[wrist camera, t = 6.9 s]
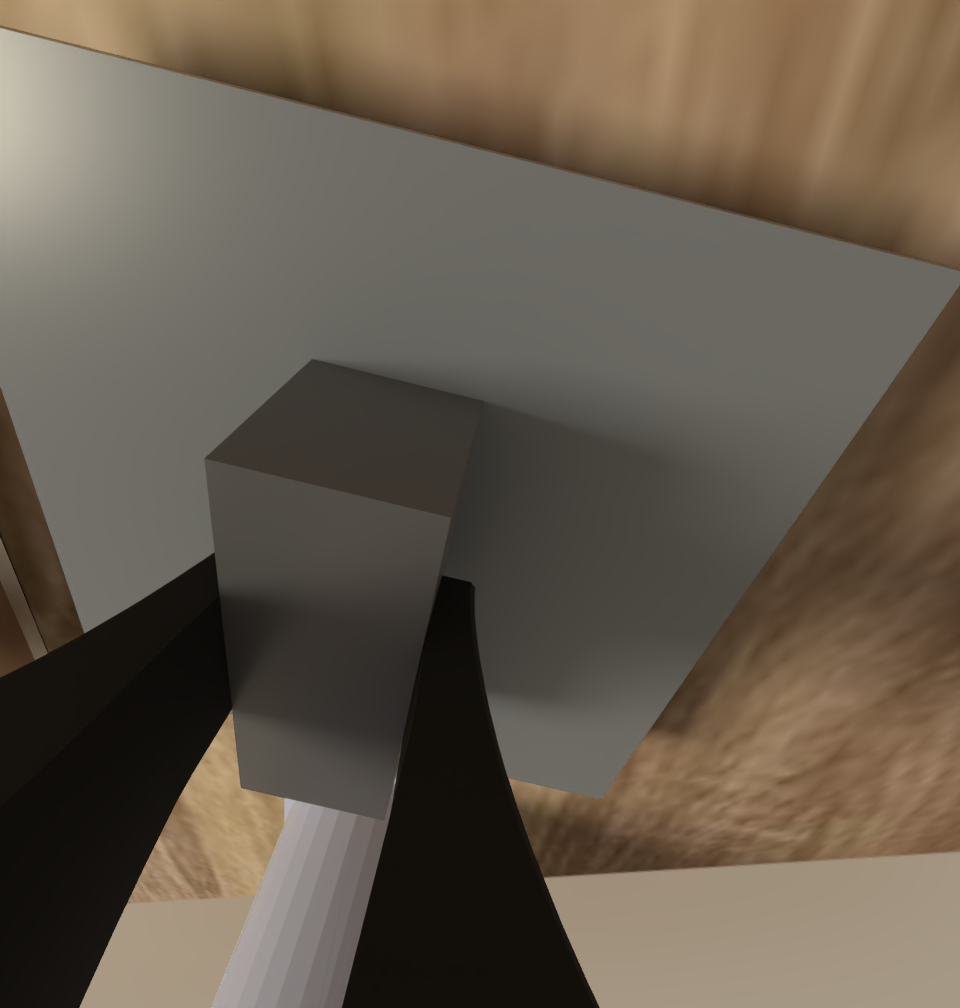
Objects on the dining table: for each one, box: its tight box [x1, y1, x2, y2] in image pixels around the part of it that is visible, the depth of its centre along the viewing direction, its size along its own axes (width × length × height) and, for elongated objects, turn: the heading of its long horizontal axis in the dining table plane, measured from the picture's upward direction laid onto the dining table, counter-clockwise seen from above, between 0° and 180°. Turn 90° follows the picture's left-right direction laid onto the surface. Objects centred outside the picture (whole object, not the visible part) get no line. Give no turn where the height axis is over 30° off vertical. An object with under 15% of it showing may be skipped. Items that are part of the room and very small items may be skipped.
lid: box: [0, 25, 960, 821], centre depth 10 cm, size 15×15×4 cm
